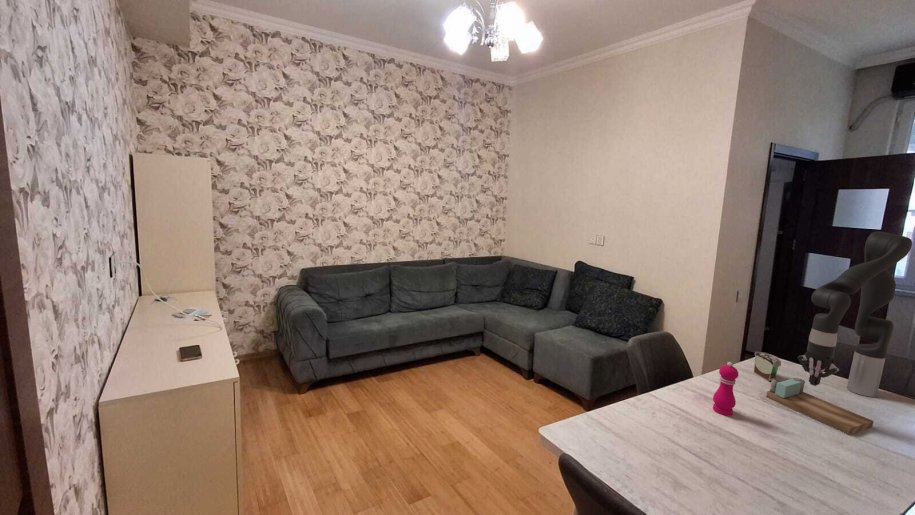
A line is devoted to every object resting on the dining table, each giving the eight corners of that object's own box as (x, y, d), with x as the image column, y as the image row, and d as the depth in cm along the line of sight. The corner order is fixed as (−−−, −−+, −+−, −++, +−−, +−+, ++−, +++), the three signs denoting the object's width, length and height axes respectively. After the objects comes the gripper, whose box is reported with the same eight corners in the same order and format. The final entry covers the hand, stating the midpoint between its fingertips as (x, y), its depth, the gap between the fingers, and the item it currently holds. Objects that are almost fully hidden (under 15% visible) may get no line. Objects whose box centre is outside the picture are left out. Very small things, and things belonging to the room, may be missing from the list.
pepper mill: (726, 407, 155) (734, 358, 152) (737, 417, 148) (746, 367, 145) (707, 405, 156) (715, 357, 152) (717, 415, 149) (725, 365, 145)
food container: (785, 384, 177) (789, 362, 175) (771, 383, 177) (775, 362, 175) (764, 371, 189) (768, 351, 187) (751, 370, 189) (754, 351, 187)
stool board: (788, 391, 169) (792, 375, 168) (872, 427, 145) (876, 408, 143) (766, 397, 164) (769, 380, 163) (848, 434, 139) (852, 415, 138)
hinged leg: (793, 388, 167) (795, 376, 166) (804, 392, 163) (807, 381, 162) (773, 393, 161) (775, 382, 160) (785, 398, 158) (787, 386, 157)
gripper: (850, 347, 143) (841, 391, 146) (807, 334, 155) (799, 375, 159) (838, 350, 141) (828, 394, 144) (795, 336, 153) (787, 378, 156)
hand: (813, 384), depth 151 cm, fingers closed
